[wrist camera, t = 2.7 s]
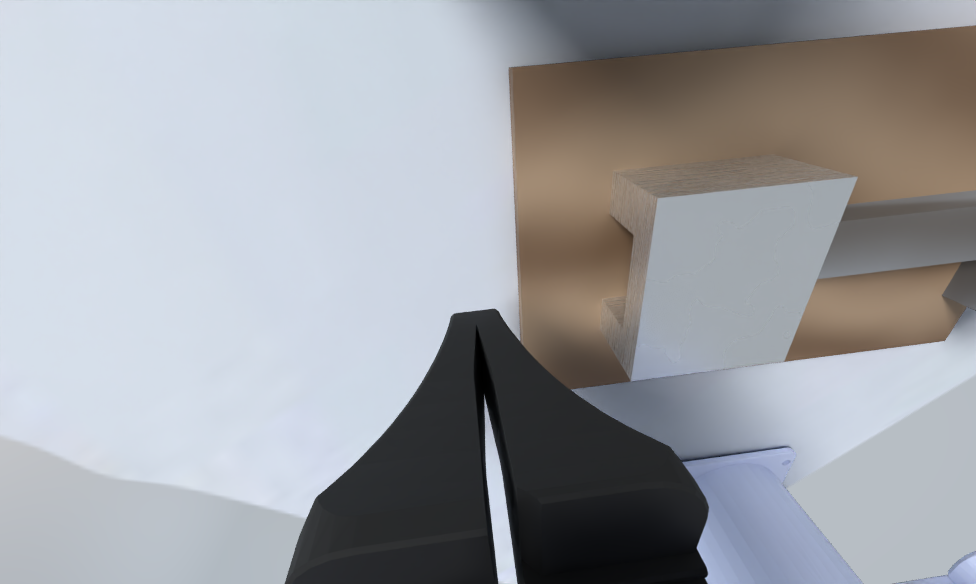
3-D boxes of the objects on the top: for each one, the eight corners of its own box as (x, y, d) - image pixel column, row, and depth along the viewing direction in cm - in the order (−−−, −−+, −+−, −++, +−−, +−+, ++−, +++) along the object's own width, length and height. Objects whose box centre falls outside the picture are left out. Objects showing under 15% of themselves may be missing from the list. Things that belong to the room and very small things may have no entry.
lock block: (728, 313, 18) (784, 361, 15) (599, 329, 18) (631, 381, 15) (773, 154, 14) (858, 176, 11) (613, 171, 14) (657, 198, 11)
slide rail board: (928, 331, 21) (1048, 397, 17) (522, 383, 20) (543, 467, 16) (1123, 12, 14) (1417, -13, 10) (508, 67, 13) (539, 67, 9)
